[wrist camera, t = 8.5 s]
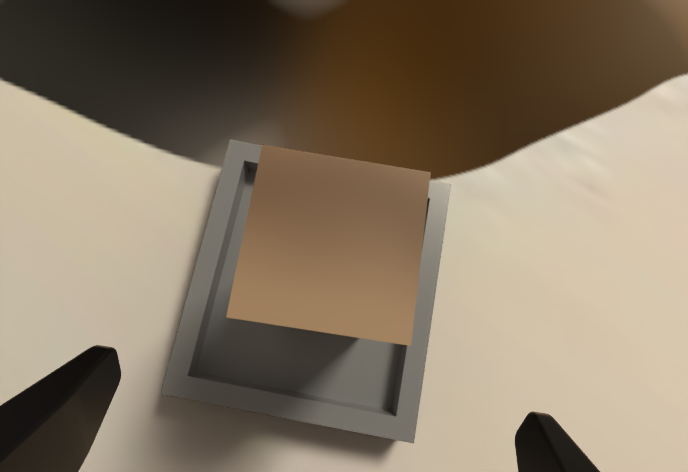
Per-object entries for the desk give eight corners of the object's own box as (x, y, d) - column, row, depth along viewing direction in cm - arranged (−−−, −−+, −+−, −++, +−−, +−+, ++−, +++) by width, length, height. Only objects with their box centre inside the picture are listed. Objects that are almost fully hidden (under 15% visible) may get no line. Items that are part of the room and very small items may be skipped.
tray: (404, 431, 22) (413, 443, 20) (176, 387, 22) (160, 394, 19) (439, 196, 25) (450, 184, 22) (238, 155, 24) (230, 139, 22)
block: (361, 335, 22) (411, 345, 10) (276, 321, 22) (226, 317, 10) (373, 251, 23) (430, 172, 11) (291, 238, 23) (262, 144, 11)
